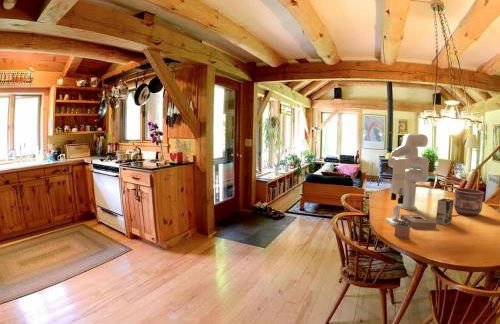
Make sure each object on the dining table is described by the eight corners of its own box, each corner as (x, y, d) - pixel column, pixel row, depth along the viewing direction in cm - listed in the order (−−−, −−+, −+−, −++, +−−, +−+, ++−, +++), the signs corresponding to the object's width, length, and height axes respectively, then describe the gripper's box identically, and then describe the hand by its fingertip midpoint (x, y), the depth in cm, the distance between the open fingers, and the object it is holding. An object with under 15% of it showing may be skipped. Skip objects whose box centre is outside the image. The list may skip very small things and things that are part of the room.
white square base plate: (385, 220, 191) (385, 217, 191) (398, 221, 190) (398, 218, 190) (391, 225, 181) (392, 222, 181) (405, 226, 180) (406, 223, 180)
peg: (391, 219, 188) (392, 205, 186) (397, 219, 187) (398, 205, 186) (393, 221, 184) (394, 207, 182) (399, 221, 183) (401, 207, 182)
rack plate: (400, 219, 193) (400, 213, 193) (422, 220, 192) (422, 214, 191) (412, 227, 177) (412, 221, 177) (436, 228, 176) (436, 222, 176)
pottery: (487, 218, 197) (490, 193, 195) (460, 216, 201) (462, 192, 199) (473, 211, 215) (475, 188, 213) (448, 209, 218) (450, 187, 216)
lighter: (410, 238, 161) (411, 221, 159) (408, 239, 158) (409, 223, 157) (395, 234, 166) (396, 218, 165) (393, 235, 164) (394, 219, 163)
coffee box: (446, 225, 182) (448, 202, 180) (435, 222, 187) (437, 199, 185) (451, 222, 187) (454, 200, 185) (441, 220, 192) (443, 198, 190)
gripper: (387, 174, 190) (385, 198, 192) (399, 178, 173) (397, 205, 175) (398, 174, 190) (396, 198, 192) (411, 179, 173) (409, 205, 175)
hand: (396, 201), depth 183 cm, fingers open, 9 cm apart
